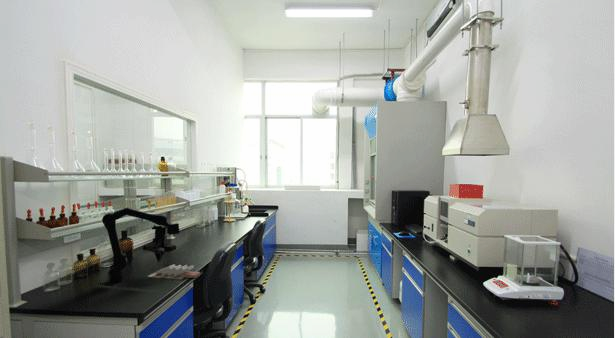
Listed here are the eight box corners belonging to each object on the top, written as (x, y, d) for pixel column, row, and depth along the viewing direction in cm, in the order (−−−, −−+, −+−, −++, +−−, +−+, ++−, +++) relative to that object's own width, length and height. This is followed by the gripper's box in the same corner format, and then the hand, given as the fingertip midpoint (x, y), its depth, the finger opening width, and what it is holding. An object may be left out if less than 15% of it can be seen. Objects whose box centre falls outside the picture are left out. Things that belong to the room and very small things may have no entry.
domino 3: (167, 273, 149) (181, 267, 147) (173, 270, 153) (186, 264, 152) (168, 275, 148) (182, 270, 147) (174, 272, 153) (187, 267, 152)
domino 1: (155, 272, 150) (169, 266, 149) (161, 269, 155) (174, 263, 154) (155, 274, 150) (170, 269, 148) (161, 271, 155) (175, 266, 153)
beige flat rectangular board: (146, 278, 147) (147, 276, 147) (160, 271, 158) (160, 269, 158) (180, 281, 144) (180, 279, 144) (192, 274, 155) (192, 272, 155)
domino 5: (179, 274, 147) (195, 275, 146) (185, 271, 152) (200, 271, 151) (179, 277, 147) (195, 277, 146) (184, 273, 152) (200, 274, 151)
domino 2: (161, 272, 149) (175, 267, 148) (166, 269, 154) (180, 264, 153) (161, 275, 149) (176, 269, 148) (167, 272, 154) (181, 266, 153)
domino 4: (173, 273, 148) (187, 267, 147) (179, 270, 153) (193, 264, 152) (174, 276, 148) (188, 270, 146) (180, 273, 153) (194, 267, 151)
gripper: (135, 238, 147) (134, 265, 146) (164, 239, 144) (163, 267, 143) (150, 234, 158) (149, 259, 157) (177, 235, 155) (176, 261, 154)
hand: (158, 261), depth 152 cm, fingers closed
